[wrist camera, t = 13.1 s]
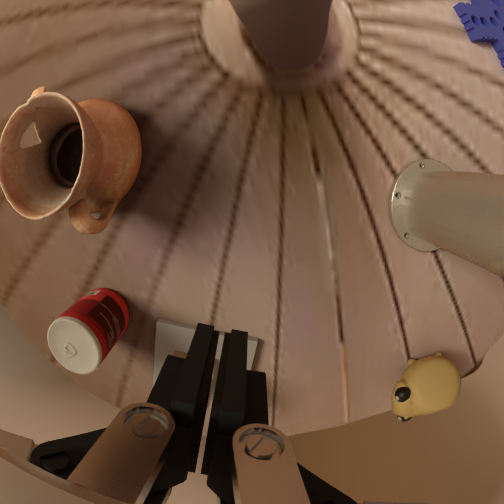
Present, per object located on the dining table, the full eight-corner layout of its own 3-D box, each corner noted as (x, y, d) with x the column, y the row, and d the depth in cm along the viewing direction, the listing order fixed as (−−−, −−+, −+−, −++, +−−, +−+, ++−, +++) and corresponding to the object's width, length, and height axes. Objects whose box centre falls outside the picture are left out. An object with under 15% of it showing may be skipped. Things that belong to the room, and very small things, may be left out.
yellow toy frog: (378, 360, 43) (403, 403, 33) (442, 335, 42) (476, 368, 32) (381, 403, 46) (402, 444, 35) (440, 378, 45) (467, 413, 34)
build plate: (257, 337, 42) (257, 341, 41) (242, 400, 45) (241, 404, 44) (158, 318, 41) (156, 321, 40) (154, 383, 44) (153, 386, 43)
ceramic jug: (45, 129, 35) (-23, 124, 21) (125, 76, 33) (71, 42, 19) (85, 240, 39) (24, 273, 25) (173, 198, 38) (130, 216, 24)
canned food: (79, 316, 41) (42, 351, 31) (95, 275, 40) (54, 305, 29) (119, 343, 42) (90, 386, 32) (139, 304, 41) (108, 343, 30)
